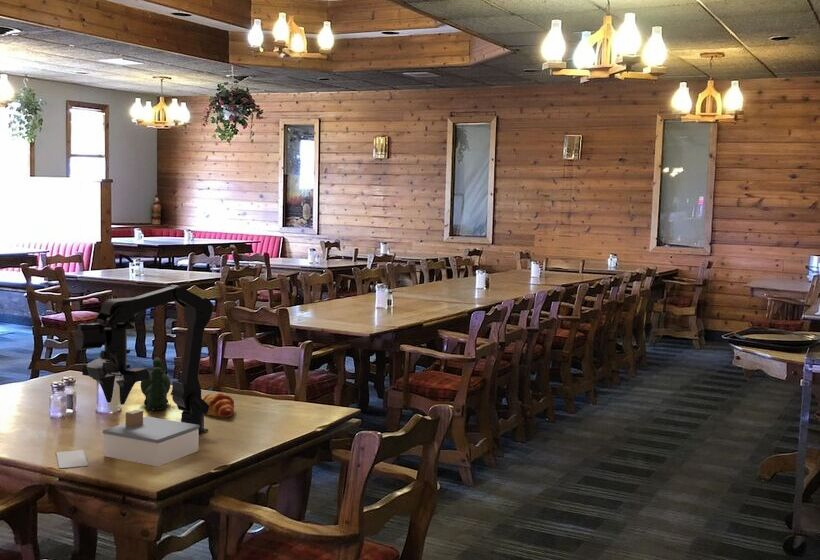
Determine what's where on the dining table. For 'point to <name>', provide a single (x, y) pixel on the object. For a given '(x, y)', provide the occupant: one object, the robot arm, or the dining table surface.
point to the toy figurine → (156, 388)
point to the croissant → (219, 405)
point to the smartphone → (71, 459)
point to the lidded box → (151, 448)
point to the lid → (149, 428)
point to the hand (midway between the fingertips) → (115, 403)
